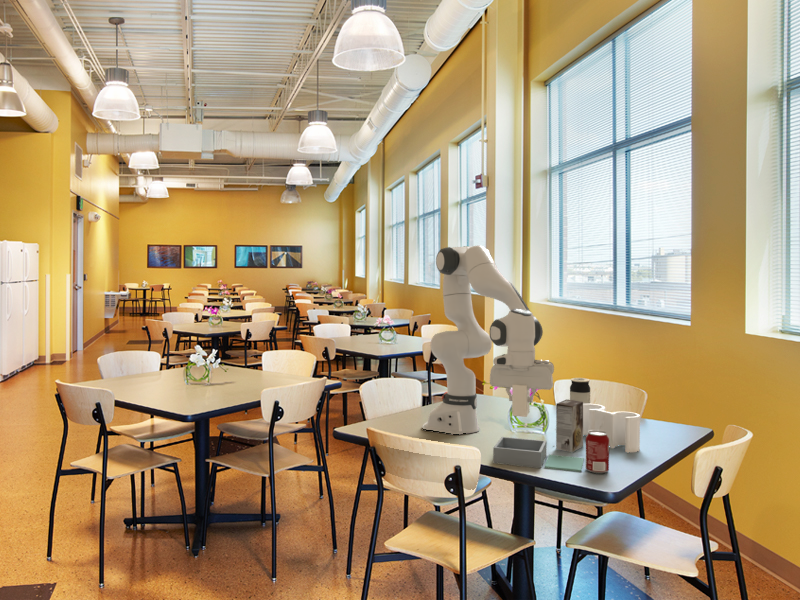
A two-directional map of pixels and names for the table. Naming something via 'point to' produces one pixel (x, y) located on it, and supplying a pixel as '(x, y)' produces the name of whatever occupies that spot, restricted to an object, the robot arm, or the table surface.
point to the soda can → (597, 452)
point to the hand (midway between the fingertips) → (520, 401)
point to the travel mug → (580, 390)
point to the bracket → (613, 426)
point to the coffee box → (569, 425)
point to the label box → (520, 400)
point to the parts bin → (520, 452)
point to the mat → (564, 463)
